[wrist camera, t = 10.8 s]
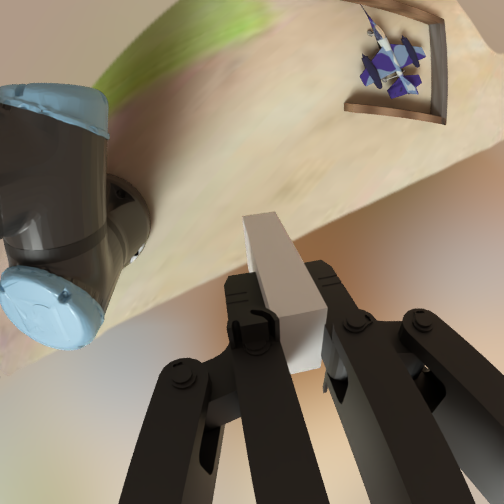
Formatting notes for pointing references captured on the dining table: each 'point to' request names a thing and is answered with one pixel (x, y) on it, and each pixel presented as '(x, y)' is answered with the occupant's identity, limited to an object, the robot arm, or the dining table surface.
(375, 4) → the frame
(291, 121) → the dining table surface
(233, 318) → the robot arm
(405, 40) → the toy airplane
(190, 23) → the dining table surface
